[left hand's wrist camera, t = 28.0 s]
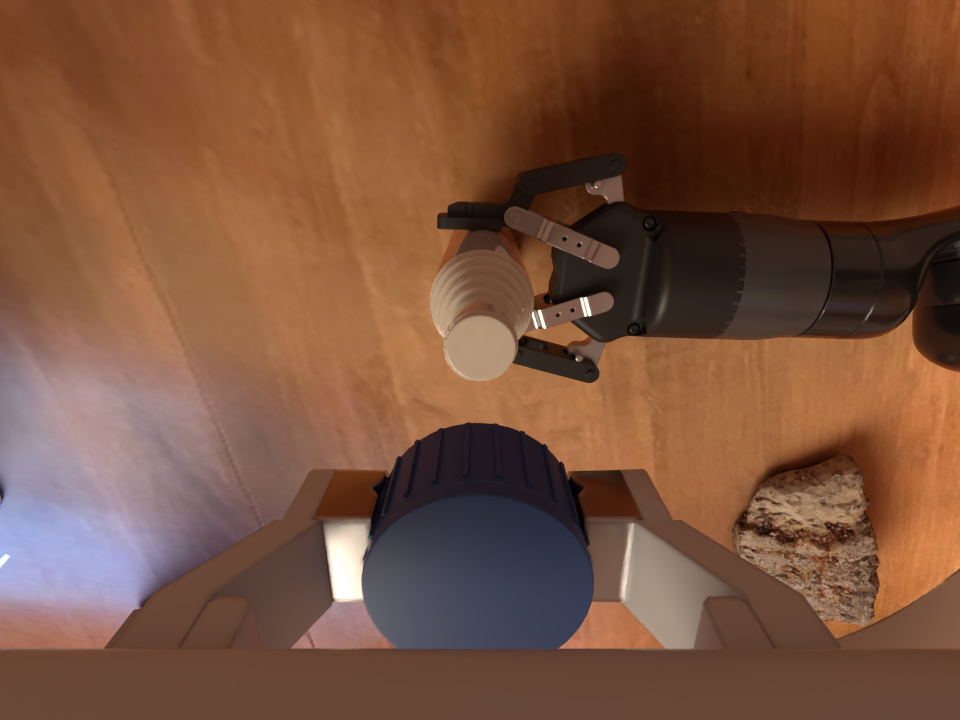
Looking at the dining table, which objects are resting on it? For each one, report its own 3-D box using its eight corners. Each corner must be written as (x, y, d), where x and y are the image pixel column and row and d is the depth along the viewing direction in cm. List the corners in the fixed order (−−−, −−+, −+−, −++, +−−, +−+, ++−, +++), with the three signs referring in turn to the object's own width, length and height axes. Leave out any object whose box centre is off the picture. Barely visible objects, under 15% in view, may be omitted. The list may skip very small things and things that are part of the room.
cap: (342, 488, 10) (305, 573, 8) (498, 380, 9) (504, 444, 7) (460, 605, 11) (456, 707, 9) (610, 519, 10) (643, 609, 8)
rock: (850, 582, 48) (895, 636, 43) (738, 604, 49) (770, 659, 44) (848, 447, 43) (900, 489, 37) (723, 475, 44) (756, 519, 39)
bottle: (462, 205, 36) (437, 260, 17) (526, 229, 37) (572, 309, 18) (440, 269, 38) (395, 385, 19) (501, 292, 38) (519, 426, 19)
